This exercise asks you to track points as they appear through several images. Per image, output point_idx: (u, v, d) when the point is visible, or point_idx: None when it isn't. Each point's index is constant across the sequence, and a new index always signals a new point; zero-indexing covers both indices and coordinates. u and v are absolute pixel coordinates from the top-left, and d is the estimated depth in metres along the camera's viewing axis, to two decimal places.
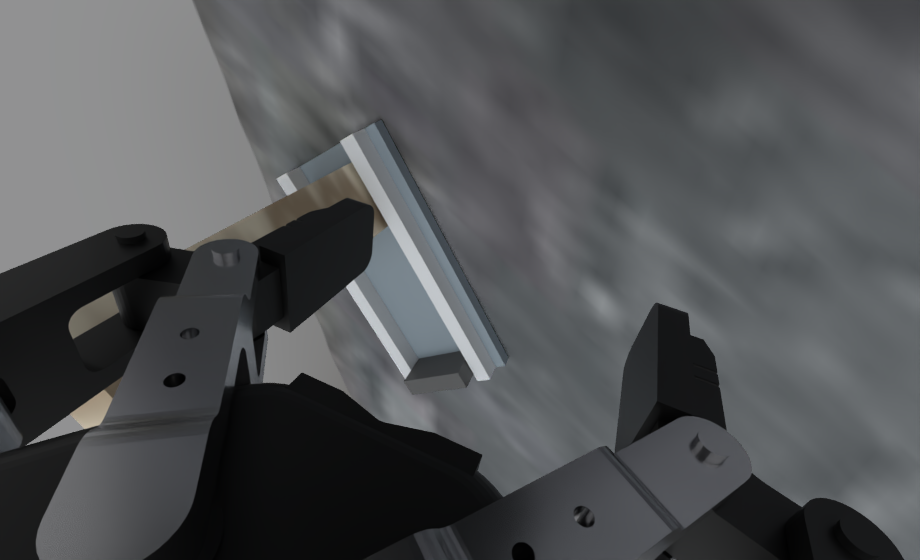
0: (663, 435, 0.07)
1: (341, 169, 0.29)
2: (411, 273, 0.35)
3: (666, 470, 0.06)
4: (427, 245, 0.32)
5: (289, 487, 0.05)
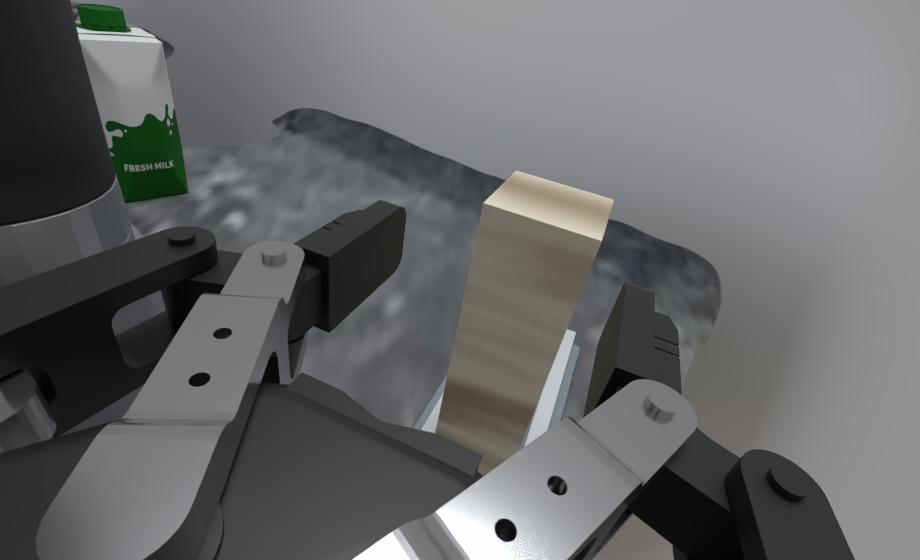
0: (618, 400, 0.07)
1: None
2: None
3: (624, 432, 0.07)
4: None
5: (289, 487, 0.05)
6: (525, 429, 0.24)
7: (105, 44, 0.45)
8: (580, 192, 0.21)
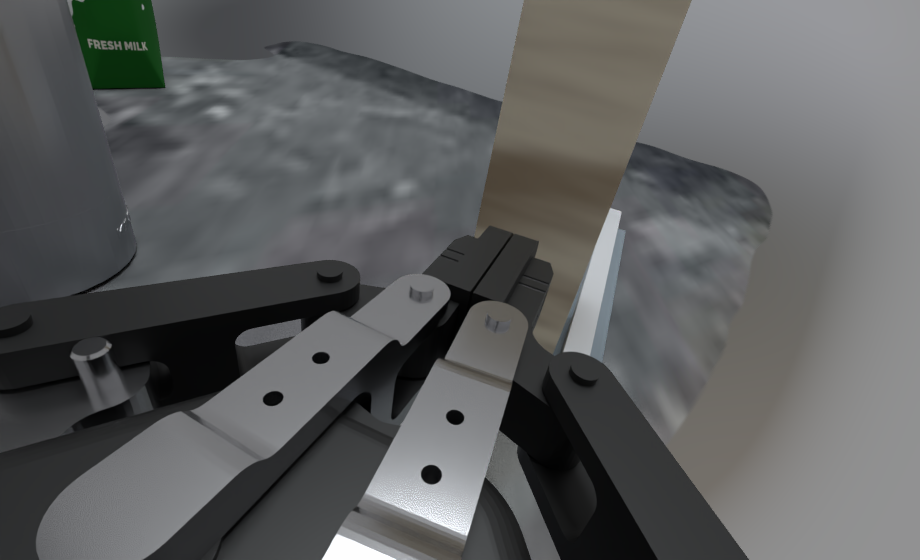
0: (467, 327, 0.08)
1: None
2: None
3: (481, 351, 0.08)
4: None
5: (288, 487, 0.05)
6: (605, 214, 0.17)
7: None
8: None
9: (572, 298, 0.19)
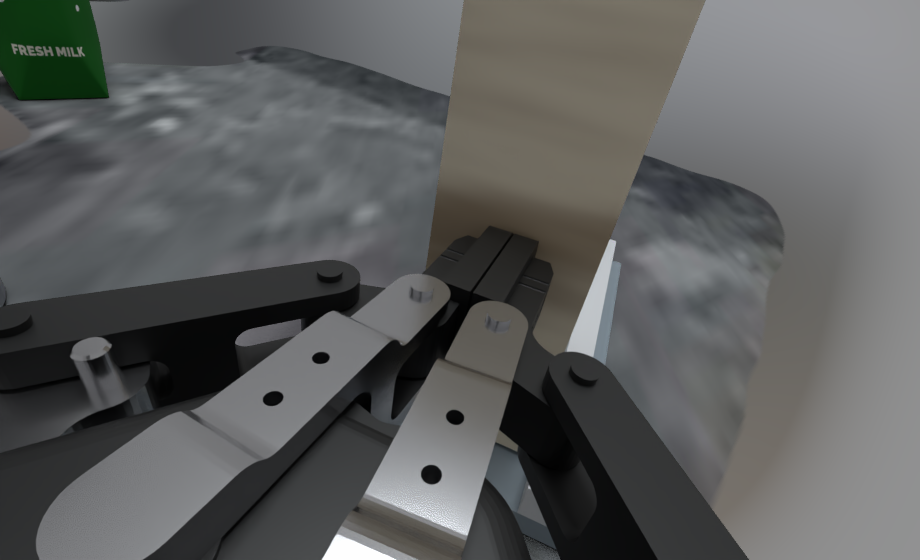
0: (467, 327, 0.08)
1: None
2: None
3: (481, 351, 0.08)
4: None
5: (288, 487, 0.05)
6: (590, 278, 0.12)
7: None
8: None
9: None
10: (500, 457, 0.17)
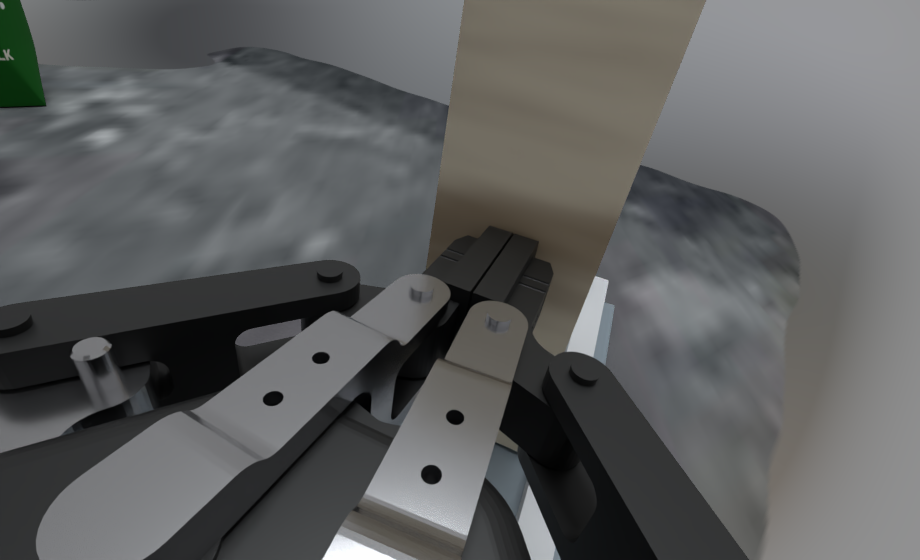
0: (467, 327, 0.08)
1: None
2: None
3: (481, 351, 0.08)
4: None
5: (288, 487, 0.05)
6: (590, 278, 0.12)
7: None
8: None
9: None
10: None
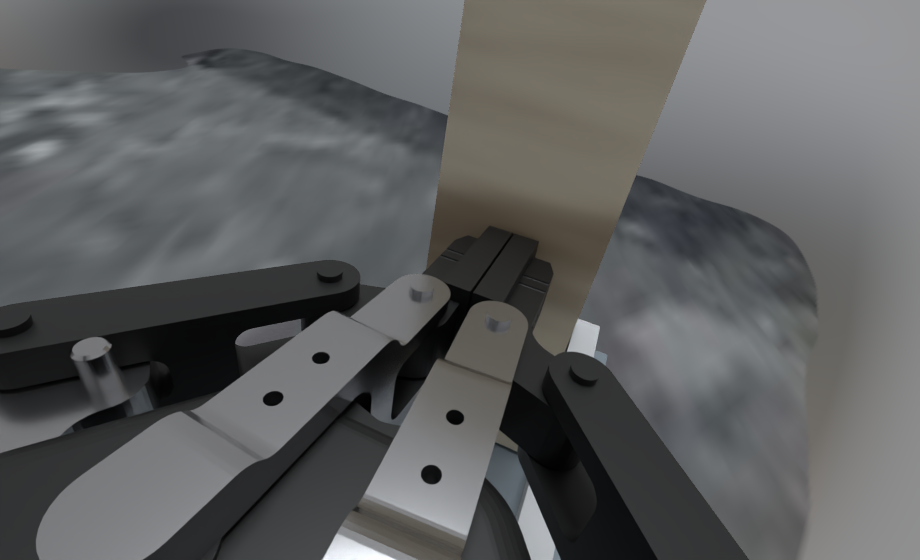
0: (467, 327, 0.08)
1: None
2: None
3: (481, 351, 0.08)
4: None
5: (288, 487, 0.05)
6: (591, 278, 0.12)
7: None
8: None
9: None
10: None
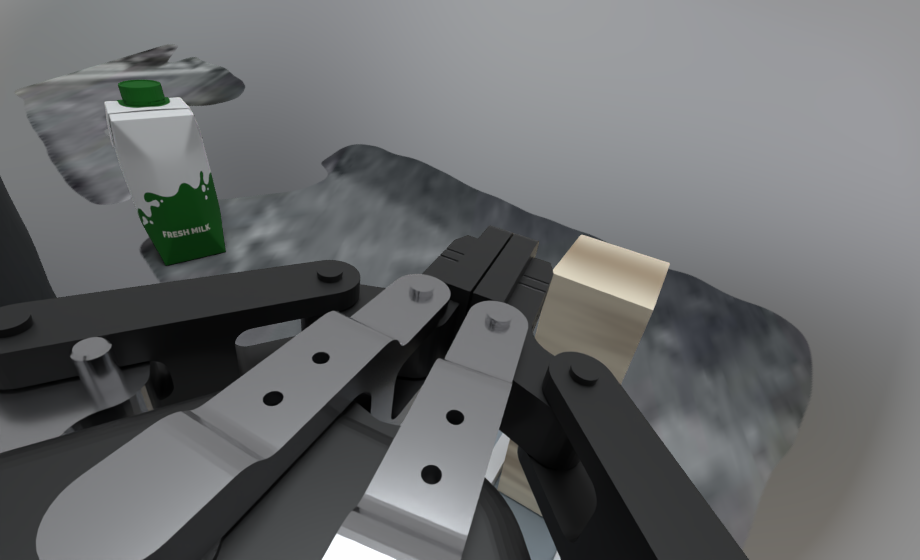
0: (467, 327, 0.08)
1: None
2: None
3: (481, 351, 0.08)
4: None
5: (288, 487, 0.05)
6: None
7: (139, 123, 0.46)
8: (638, 256, 0.24)
9: None
10: None
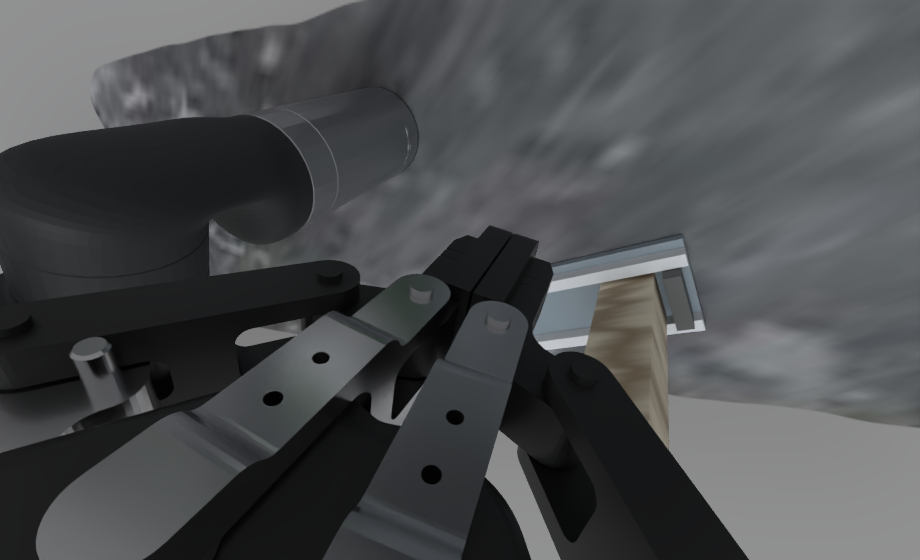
0: (467, 327, 0.08)
1: (600, 290, 0.43)
2: (584, 292, 0.46)
3: (481, 351, 0.08)
4: (560, 274, 0.46)
5: (288, 487, 0.05)
6: None
7: None
8: None
9: None
10: None
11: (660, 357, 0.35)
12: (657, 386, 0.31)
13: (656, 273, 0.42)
